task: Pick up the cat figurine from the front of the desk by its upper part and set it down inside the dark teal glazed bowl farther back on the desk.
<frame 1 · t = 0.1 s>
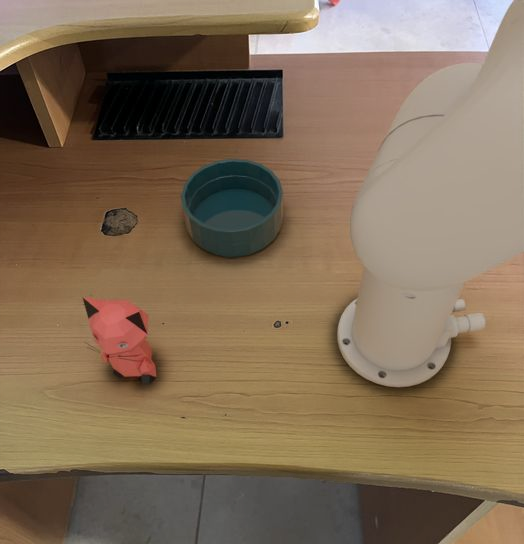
bowl: (234, 221, 75), on the table
cat figurine: (138, 367, 64), on the table
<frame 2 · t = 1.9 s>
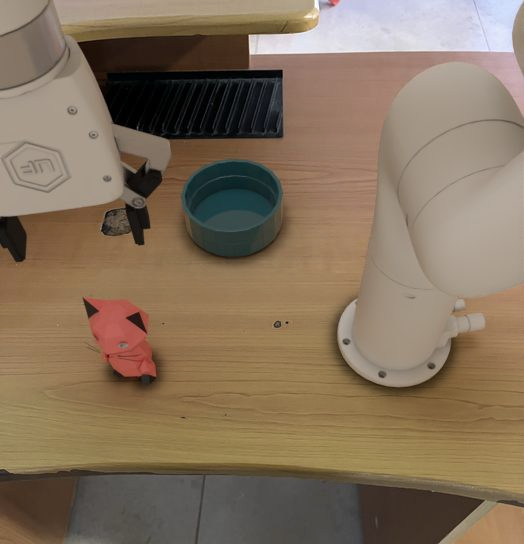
hand: (81, 240, 47), 20 cm above the table, tool pointing down, fingers open, 9 cm apart
nothing on the table moved.
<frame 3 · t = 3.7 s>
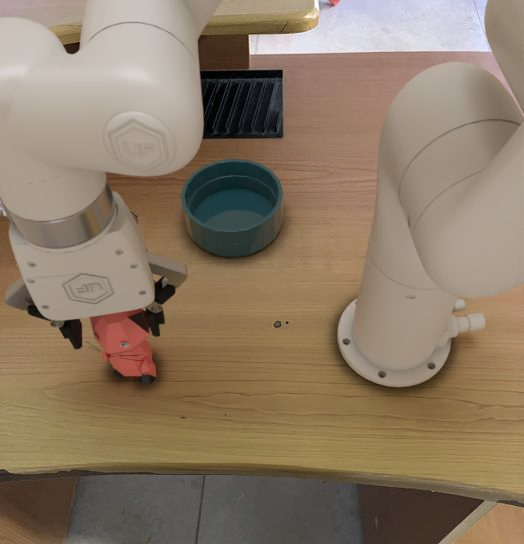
hand: (117, 330, 58), 8 cm above the table, tool pointing down, fingers closed on cat figurine, 7 cm apart
cat figurine: (138, 367, 64), on the table, touching gripper
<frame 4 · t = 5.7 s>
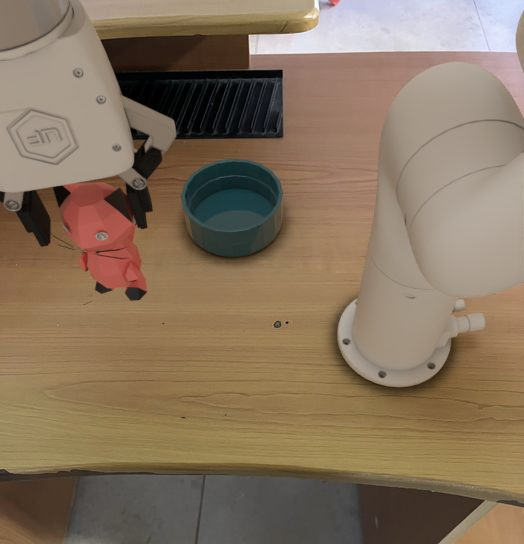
hand: (94, 223, 46), 22 cm above the table, tool pointing down, fingers closed on cat figurine, 7 cm apart
cat figurine: (125, 281, 53), point 14 cm above the table, touching gripper
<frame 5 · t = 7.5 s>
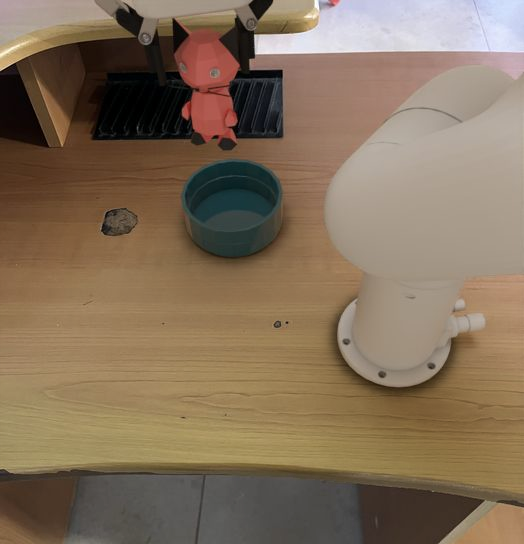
hand: (202, 70, 54), 23 cm above the table, tool pointing down, fingers closed on cat figurine, 7 cm apart
cat figurine: (216, 137, 60), point 16 cm above the table, touching gripper
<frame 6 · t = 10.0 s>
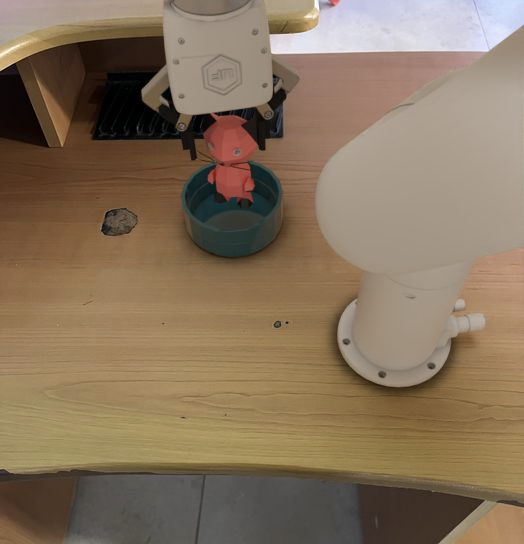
hand: (226, 146, 65), 12 cm above the table, tool pointing down, fingers closed on cat figurine, 7 cm apart
cat figurine: (235, 196, 71), point 4 cm above the table, touching gripper
when the fingers open (8 cm above the table, at t = 11.6 s): cat figurine stays where it is, resting on bowl.
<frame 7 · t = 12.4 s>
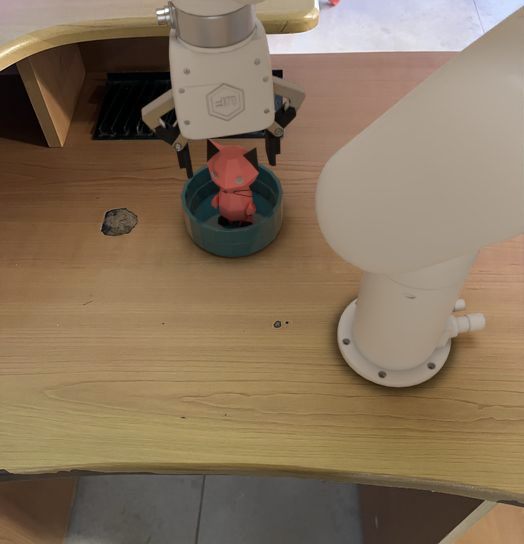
hand: (230, 164, 67), 10 cm above the table, tool pointing down, fingers open, 9 cm apart
cat figurine: (238, 218, 75), resting on bowl
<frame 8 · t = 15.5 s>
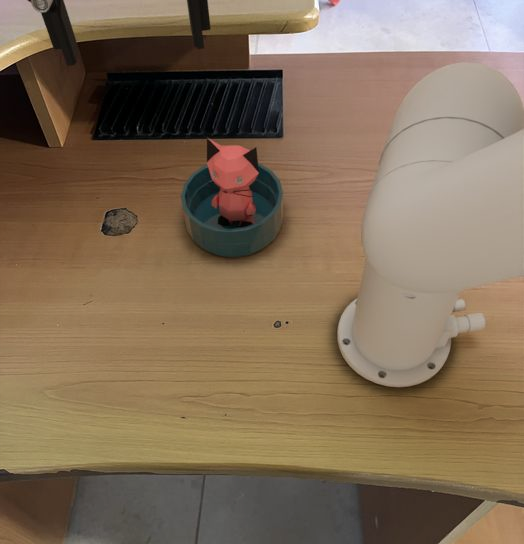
hand: (135, 47, 44), 30 cm above the table, tool pointing down, fingers open, 9 cm apart
nothing on the table moved.
at the end: cat figurine inside the target area in the bowl (0.5 cm from its centre), point 0.4 cm above the bowl's base; cat figurine tilted 0°; the gripper is holding nothing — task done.
